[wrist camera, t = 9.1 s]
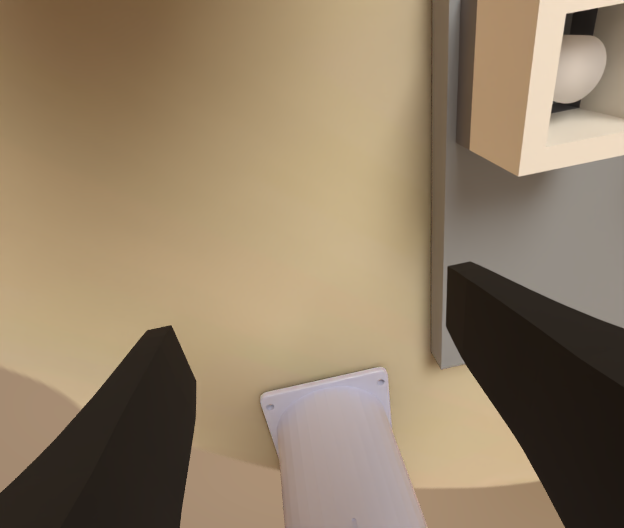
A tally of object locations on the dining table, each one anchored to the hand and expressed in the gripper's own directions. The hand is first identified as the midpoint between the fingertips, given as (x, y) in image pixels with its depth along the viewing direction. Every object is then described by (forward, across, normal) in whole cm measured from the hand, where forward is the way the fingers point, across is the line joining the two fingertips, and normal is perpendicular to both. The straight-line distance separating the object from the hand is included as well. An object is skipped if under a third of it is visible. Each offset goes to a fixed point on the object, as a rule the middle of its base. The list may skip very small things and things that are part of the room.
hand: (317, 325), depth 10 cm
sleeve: (+8, -10, -4) cm, 13 cm away
